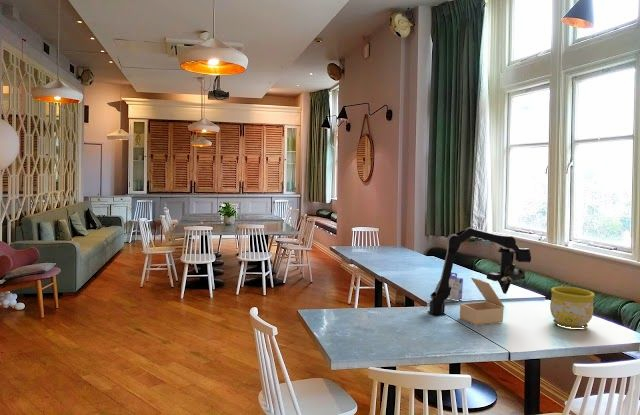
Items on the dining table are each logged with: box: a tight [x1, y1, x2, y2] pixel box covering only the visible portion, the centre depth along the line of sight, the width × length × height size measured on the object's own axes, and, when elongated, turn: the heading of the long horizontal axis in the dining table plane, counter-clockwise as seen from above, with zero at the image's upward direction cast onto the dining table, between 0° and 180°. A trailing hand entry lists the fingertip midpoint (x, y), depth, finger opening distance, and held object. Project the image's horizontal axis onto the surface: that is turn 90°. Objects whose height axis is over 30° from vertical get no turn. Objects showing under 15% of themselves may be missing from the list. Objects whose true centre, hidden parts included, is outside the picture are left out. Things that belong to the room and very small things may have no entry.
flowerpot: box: [549, 286, 596, 329], centre depth 229 cm, size 18×18×16 cm
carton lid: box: [471, 277, 505, 308], centre depth 235 cm, size 16×12×1 cm
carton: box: [459, 300, 505, 326], centre depth 234 cm, size 16×12×7 cm
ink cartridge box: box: [448, 272, 464, 300], centre depth 270 cm, size 10×6×14 cm, turn 53°
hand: (504, 293), depth 239 cm, fingers closed
